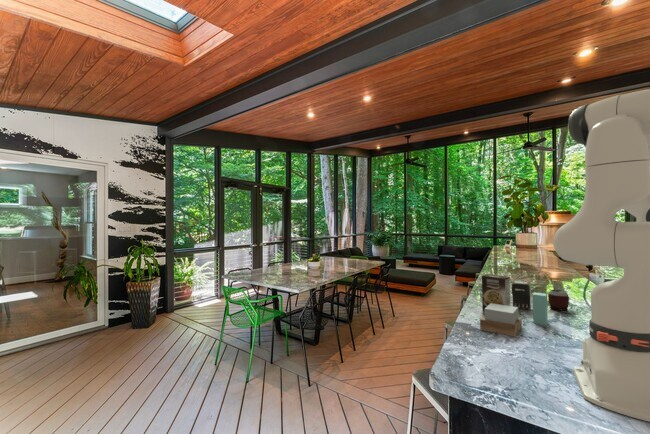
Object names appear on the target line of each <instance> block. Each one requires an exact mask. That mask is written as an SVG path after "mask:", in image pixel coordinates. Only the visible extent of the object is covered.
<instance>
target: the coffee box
mask: <svg viewBox="0 0 650 434" xmlns="http://www.w3.org/2000/svg"><path fill="white" fill-rule="evenodd" d="M481 296H482V297H481V300H482V301H481V302H482V303H481V304H482V314H484V315H485V308H486V307H487V306H488V305H489V304H490V303H493V304H499V305H506V306H511V276H506V275H498V274H489V273H486V274H483V275H481Z"/></svg>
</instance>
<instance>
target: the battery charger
mask: <svg viewBox="0 0 650 434" xmlns="http://www.w3.org/2000/svg"><path fill="white" fill-rule="evenodd" d="M531 289H532V288H531V285H530V284H529V283H528V282H522V281H514V282H512V283H511V294H512V295H511V296H512V297H511V298H512V306H513V307H518V309H519V310H520V309H521V310H531V309H532V305H531V303H532V302H531V301H532V300H531V299H532V292H531V291H532V290H531Z"/></svg>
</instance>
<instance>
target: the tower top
mask: <svg viewBox="0 0 650 434" xmlns="http://www.w3.org/2000/svg"><path fill="white" fill-rule="evenodd" d="M484 316H485V320H490V321H495V322H501V323H506V324H511V325H514V324H515V322H516V321H517V320H518V317H519V308H518V307H513V305H510V306H506V305H499V304H493V303H490V304H489V305H488V306H487V307H486V308H485V314H484Z"/></svg>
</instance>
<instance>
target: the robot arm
mask: <svg viewBox="0 0 650 434" xmlns="http://www.w3.org/2000/svg"><path fill="white" fill-rule="evenodd" d="M567 124H568V125H567V129H568V130H567V131H568V133H569V136H570V137H571V139H572V141H574V142H575V143H577V144H581V145H583V146H584V147H585V153H584V154H585V156H584V170H585V174H584V175H585V189H584V198H583V201H582V203H581V206H580V208H579V210H578V211H577V213H576V214H575V215H574V216H573V217H572V218H571V219H570V220H569V221H568V222H566V223H564V224H563V225H561V226H560V227H559V228H558V229H557V231H555V233H554V235H553V240H552V243H553V244H552V246H553V248H554V251H555V253H556V254H557V255H558V257H559V258H561V259H562V260H563V261H567V262H572V263H576V264H581V265H585V266H596V267H597V266H598V267H600V266H601V267H609V268H610V267H612V268H619V269H623V270H624V271H623V275H622V277H620V278H616V279H612V280H607V281H605V282H602V283H599V284H597V285H596V286H594V288H593V289H592V290H591V292H590V313H591V319H589V322H588V323H589V325H588V330H589V337H588V338H586V339H584V340H582V360H580V362H581V365H582V366H573V370H572V372H573V374H574V377H575V379H576V381H577V384H578V387H579V389H580V392H581V394H582V397H583V399H585V400H586V401H589V402H590V403H592V404H594V405H597V406H599V407H602V408H603V409H606V410H609V411H612V412H615V413H618V414H621V415H624V416H628V417H631V418H635V419H638V420H641V421H645V422H649V423H650V88H647V89H641V90H638V91H637V90H636V91H633V92H629V93H624V94H617V95H614V96H611V97H608V98H605V99H602V100H599V101H596V102H593V103H586V104H584V105H582V106H579V107H578V108H575V109H574V110H572V112H571V114H570V115H569V117H568V122H567ZM621 210H624V211H626V212H627V213H628V214H630V215H631V216H633V217H634V218H636V221H616V219H615V218H616V215H617V213H618V212H619V211H621Z"/></svg>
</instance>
